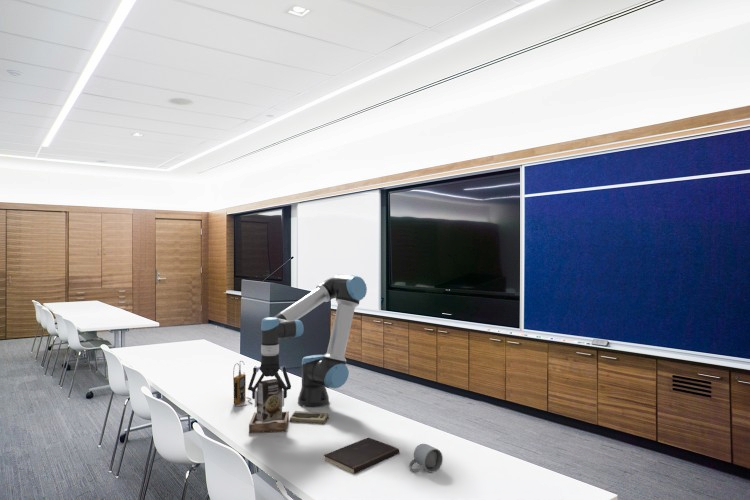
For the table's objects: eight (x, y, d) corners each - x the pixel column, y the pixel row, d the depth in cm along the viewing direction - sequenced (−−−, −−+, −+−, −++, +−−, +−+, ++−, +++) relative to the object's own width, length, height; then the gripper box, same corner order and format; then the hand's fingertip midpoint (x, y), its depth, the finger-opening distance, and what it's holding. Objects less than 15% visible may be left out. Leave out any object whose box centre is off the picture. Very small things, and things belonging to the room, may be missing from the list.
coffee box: (263, 423, 199) (263, 384, 199) (256, 419, 204) (256, 381, 204) (282, 418, 205) (283, 380, 205) (275, 414, 210) (275, 377, 210)
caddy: (288, 419, 212) (288, 411, 212) (286, 431, 198) (286, 423, 198) (254, 420, 211) (254, 412, 211) (248, 433, 196) (249, 424, 196)
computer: (289, 423, 209) (289, 415, 209) (295, 416, 217) (295, 409, 217) (324, 425, 206) (324, 417, 207) (329, 419, 214) (329, 411, 214)
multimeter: (248, 408, 228) (249, 366, 228) (229, 406, 230) (229, 365, 230) (262, 399, 243) (262, 359, 243) (244, 397, 245) (244, 358, 245)
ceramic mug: (429, 460, 170) (428, 439, 170) (443, 469, 163) (442, 447, 163) (404, 467, 165) (403, 445, 165) (417, 477, 158) (417, 454, 158)
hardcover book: (323, 461, 171) (323, 454, 171) (368, 443, 187) (368, 437, 187) (354, 475, 160) (354, 468, 160) (399, 455, 176) (399, 448, 176)
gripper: (240, 356, 200) (240, 409, 199) (296, 355, 202) (296, 408, 202) (243, 352, 207) (243, 404, 207) (297, 352, 210) (297, 402, 209)
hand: (269, 406), depth 204 cm, fingers closed on coffee box, 11 cm apart
